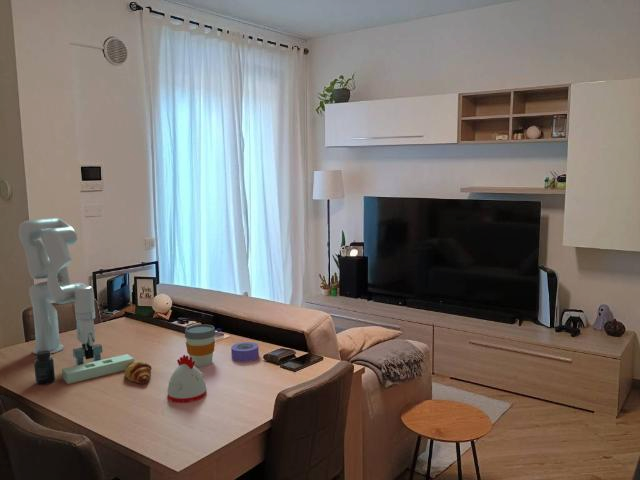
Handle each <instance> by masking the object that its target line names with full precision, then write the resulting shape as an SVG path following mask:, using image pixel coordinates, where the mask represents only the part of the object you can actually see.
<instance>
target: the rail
mask: <svg viewBox="0 0 640 480" xmlns="http://www.w3.org/2000/svg"><path fill="white" fill-rule="evenodd" d="M134 358H135V357H133V356H132V355H130V354H128V353H126V354H122V355H117V356H114V357H109V358H103V359H101V360H99V361H95V362H94V361H90V362H85V363H84V364H81V365H73V366H70V367H69V366H68V367H64V368H62V370H61V371H62V372H61V373H62V379H63V381H64V382H65V383H66V384H68V385H69V384H73V383H76V382H81V381H85V380H90V379H94V378H98V377H101V376H105V375H111V374H114V373H118V372H121V371H123V372H124V371H125V368H126V366H127V365H128V363H131V362H135V359H134Z"/></svg>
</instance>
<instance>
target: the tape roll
mask: <svg viewBox="0 0 640 480" xmlns="http://www.w3.org/2000/svg"><path fill="white" fill-rule="evenodd" d="M230 348H231V349H230V350H231V360H233V361H235V362H240V363H241V362H242V363H244V362H245V363H247V362H252V361H256V360H257V359H258V358H259V355H260V353H259V344H258V343H256V342H252V341H251V342H250V341H245V342H238V343H237V342H236V343H235V344H233V345H231V347H230Z"/></svg>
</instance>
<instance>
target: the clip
mask: <svg viewBox="0 0 640 480" xmlns="http://www.w3.org/2000/svg"><path fill="white" fill-rule="evenodd" d="M85 350H86V347H82V346H81V347H77V348H73V349H72V356H73V358H75V366H77V365H81V364H85V361H84V358H85V357H84V356H85ZM102 353H103V345H102V344H101V343H97V344H93V354H94V358H92V360H93V361H92V362H95V361H99V360H102V358H101V354H102Z"/></svg>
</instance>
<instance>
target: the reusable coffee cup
mask: <svg viewBox="0 0 640 480" xmlns="http://www.w3.org/2000/svg"><path fill="white" fill-rule="evenodd" d="M215 335H216V329H215V326H214V325H211V324H194V325H190V326H188V327H186V328H185V331H184V338H185V340H186V341H185V345H186V351H187V355H188V358H190V357H192V362H193V361H195V363H194V366H195V367H196V368H198V367H207V366H209V365H211V364H212V363H213V355H214V354H213V353H214V352H215V343H216V339H215Z"/></svg>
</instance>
